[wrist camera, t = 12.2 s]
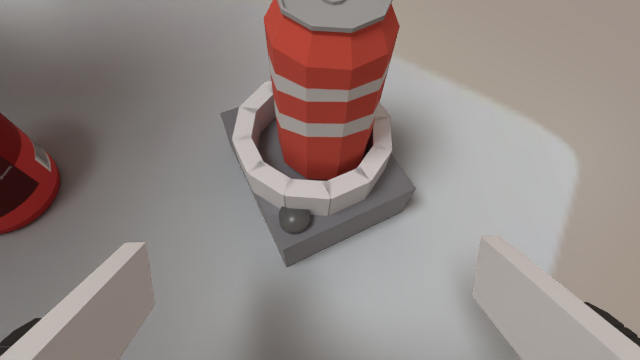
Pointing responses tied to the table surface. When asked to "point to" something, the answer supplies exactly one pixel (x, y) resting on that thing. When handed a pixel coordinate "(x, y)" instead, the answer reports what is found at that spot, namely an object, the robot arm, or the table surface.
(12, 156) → the canned food
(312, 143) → the beverage can
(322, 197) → the mount
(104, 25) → the table surface
